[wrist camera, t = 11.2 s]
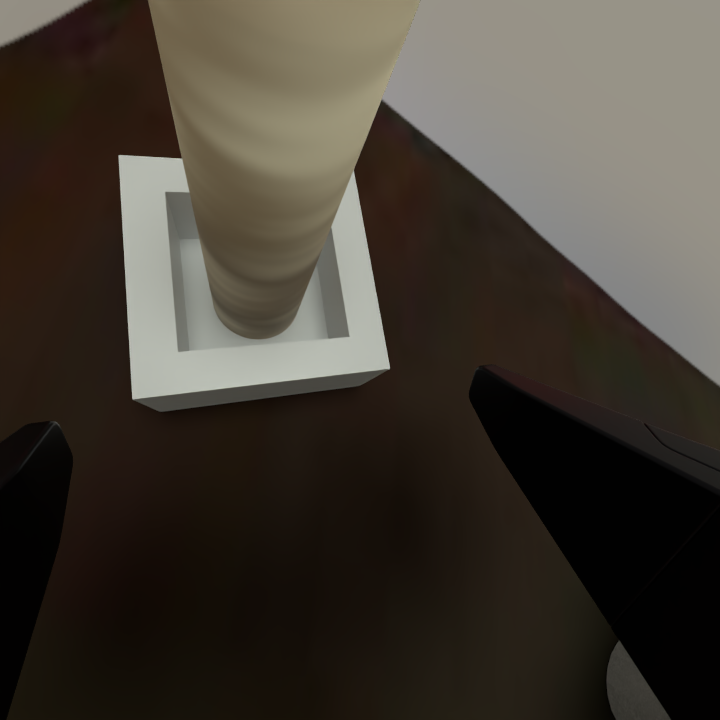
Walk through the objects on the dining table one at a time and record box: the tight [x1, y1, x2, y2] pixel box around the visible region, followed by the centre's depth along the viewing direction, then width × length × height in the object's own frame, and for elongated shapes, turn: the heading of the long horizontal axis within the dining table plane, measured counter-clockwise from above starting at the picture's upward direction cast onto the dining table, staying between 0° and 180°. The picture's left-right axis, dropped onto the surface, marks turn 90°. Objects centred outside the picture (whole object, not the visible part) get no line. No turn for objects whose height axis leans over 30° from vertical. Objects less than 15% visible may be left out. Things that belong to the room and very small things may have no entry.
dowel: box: [148, 0, 420, 339], centre depth 12 cm, size 4×4×14 cm
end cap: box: [119, 155, 390, 412], centre depth 17 cm, size 9×9×4 cm
